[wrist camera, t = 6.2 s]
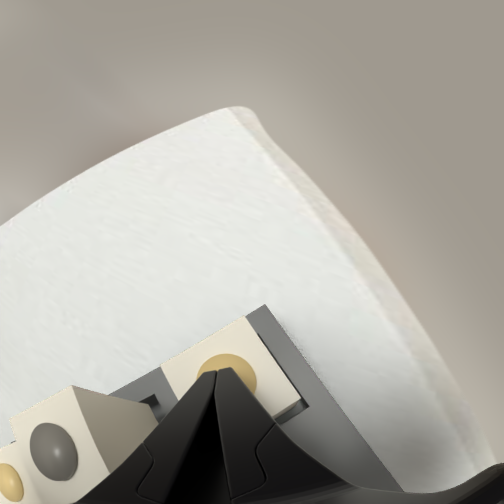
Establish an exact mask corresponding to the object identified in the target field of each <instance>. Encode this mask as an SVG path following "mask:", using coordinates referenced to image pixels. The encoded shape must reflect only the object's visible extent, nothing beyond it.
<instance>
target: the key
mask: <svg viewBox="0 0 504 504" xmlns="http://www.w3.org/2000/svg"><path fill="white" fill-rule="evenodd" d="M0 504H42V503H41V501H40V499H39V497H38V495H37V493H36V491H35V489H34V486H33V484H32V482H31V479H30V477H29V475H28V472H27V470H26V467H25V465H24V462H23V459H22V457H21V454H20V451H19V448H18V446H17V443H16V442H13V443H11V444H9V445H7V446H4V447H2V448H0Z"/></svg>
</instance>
